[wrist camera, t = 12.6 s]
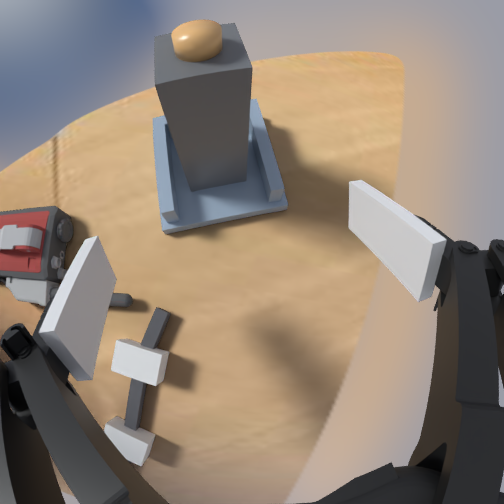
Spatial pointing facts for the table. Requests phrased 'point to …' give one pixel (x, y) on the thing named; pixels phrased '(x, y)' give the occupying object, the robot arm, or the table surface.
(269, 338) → the table surface
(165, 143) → the tray
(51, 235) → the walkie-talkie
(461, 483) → the robot arm
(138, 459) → the cable run
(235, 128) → the grey post with ball
